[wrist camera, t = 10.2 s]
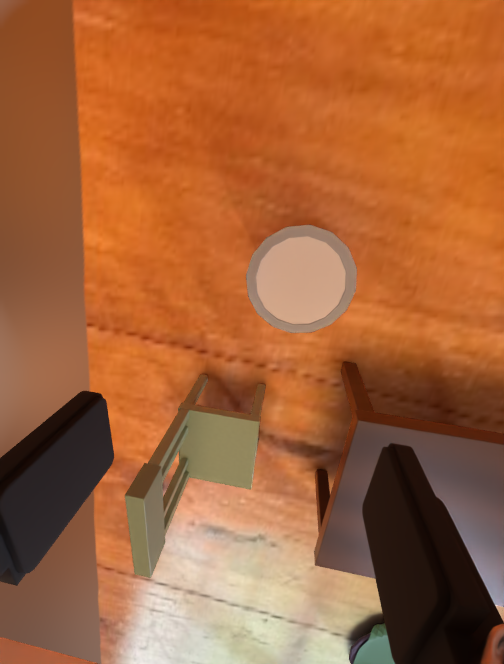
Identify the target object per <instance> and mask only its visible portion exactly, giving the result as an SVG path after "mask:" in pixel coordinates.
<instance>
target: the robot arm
mask: <svg viewBox="0 0 504 664" xmlns="http://www.w3.org/2000/svg"><path fill="white" fill-rule="evenodd" d="M113 459H114V451H113V445H112V438H111V431H110V424H109V417H108V410H107V403H106V400H105V399H104V398H103V397H102V395H101V394H100V393H95V392H89V391H82V392H80V393H79V394H77V395H76V396H75V397H74V398H73V399H71V400H70V401H69V402H68V403H66V404H65V405H64V406H63V407H62V408H60V409H59V410H58V411H57V412H56V413H54V414H53V415H52V416H51V417H50V418H48V419H47V420H46V421H45V422H43V423H42V424H41V425H40V426H39V427H37V428H36V429H35V430H34V431H33V432H31V433H30V434H29V435H28V436H26V437H25V438H24V439H23V440H22V441H21V442H19V443H18V444H17V445H16V446H14V447H13V448H12V449H11V450H10V451H8V452H7V453H6V454H5V455H3V456H2V457H1V458H0V581H1V582H5V583H9V584H13V585H16V586H17V585H18V584H19V582H20V581H21V580H22V578H23V577H24V576H25V574H26V573H30V572H31V571H32V570H34V569H35V567H36V566H37V565H38V564H39V562H40V561H41V560H42V558H43V557H44V555H45V554H46V553H47V551H48V550H49V549H50V547H51V546H52V544H53V543H54V542H55V541H56V539H57V538H58V537H59V535H60V534H61V533H62V531H63V530H64V528H65V527H66V526H67V524H68V523H69V522H70V520H71V519H72V518H73V516H74V515H75V514H76V512H77V511H78V510H79V508H80V507H81V505H82V504H83V503H84V502H85V500H86V499H87V497H88V496H89V495H90V493H91V492H92V491H93V489H94V488H95V487H96V485H97V484H98V483H99V481H100V480H101V479H102V477H103V476H104V475H105V473H106V472H107V470H108V469H109V468H110V466H111V465H112V462H113ZM362 515H363V520H364V525H365V530H366V535H367V540H368V544H369V549H370V554H371V559H372V564H373V568H374V573H375V578H376V583H377V588H378V592H379V597H380V602H381V607H382V612H383V616H384V621H385V626H386V631H387V636H388V640H389V645H390V650H391V654H392V658H393V661H394V663H395V664H504V622H503V620H502V618H501V616H500V614H499V612H498V610H497V608H496V606H495V604H494V602H493V600H492V598H491V596H490V594H489V592H488V590H487V588H486V586H485V584H484V582H483V580H482V578H481V576H480V574H479V572H478V570H477V568H476V566H475V564H474V562H473V560H472V558H471V556H470V554H469V552H468V550H467V548H466V546H465V544H464V542H463V540H462V538H461V536H460V534H459V532H458V530H457V528H456V526H455V524H454V522H453V520H452V518H451V516H450V514H449V512H448V510H447V508H446V506H445V504H444V503H443V501H442V500H441V499H439V498H437V497H436V496H435V494H434V492H433V490H432V487H431V485H430V483H429V481H428V479H427V477H426V475H425V473H424V471H423V469H422V467H421V464H420V462H419V460H418V458H417V456H416V454H415V452H414V450H413V448H412V447H411V446H407V445H401V444H395V443H390V444H389V445H388V447H383V448H382V450H381V453H380V456H379V459H378V462H377V465H376V467H375V470H374V473H373V476H372V479H371V482H370V485H369V487H368V490H367V493H366V496H365V499H364V502H363V506H362ZM0 664H98V663H94V662H91V661H87V660H83V659H80V658H76V657H72V656H69V655H65V654H61V653H57V652H54V651H50V650H47V649H43V648H39V647H35V646H32V645H28V644H24V643H20V642H17V641H13V640H9V639H5V638H2V637H0Z"/></svg>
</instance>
